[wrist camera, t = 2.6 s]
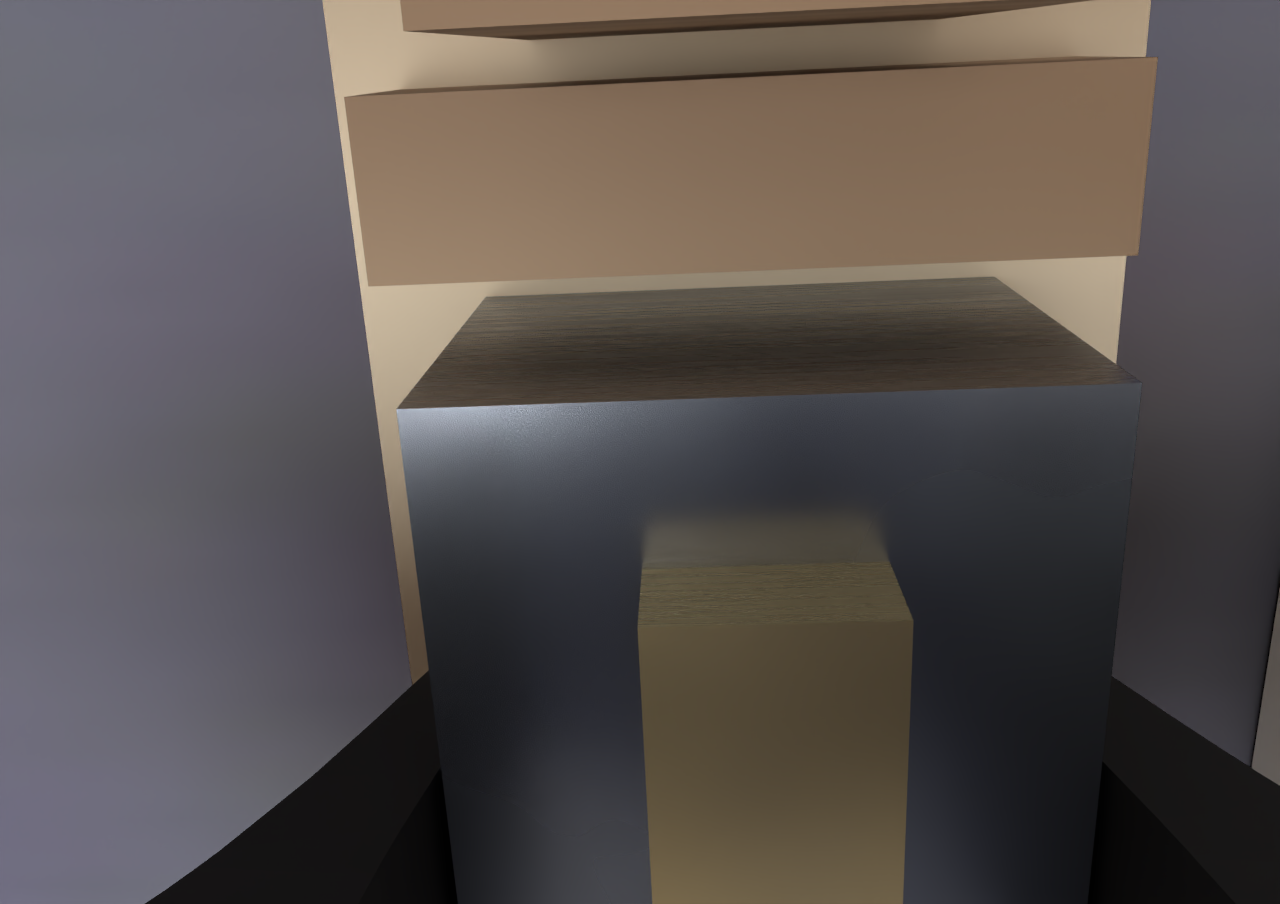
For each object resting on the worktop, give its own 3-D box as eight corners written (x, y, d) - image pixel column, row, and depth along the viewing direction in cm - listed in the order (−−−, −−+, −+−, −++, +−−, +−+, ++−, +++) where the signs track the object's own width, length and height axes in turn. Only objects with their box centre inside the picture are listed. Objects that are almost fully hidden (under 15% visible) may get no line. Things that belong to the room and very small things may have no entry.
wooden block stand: (969, 1135, 15) (1164, 1870, 9) (525, 1136, 15) (421, 1850, 9) (1062, -242, 10) (1697, -729, 4) (378, -198, 10) (-92, -585, 4)
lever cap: (949, 1059, 11) (1066, 1499, 8) (556, 1061, 12) (506, 1491, 8) (993, 276, 9) (1197, 424, 5) (485, 296, 9) (361, 452, 6)
